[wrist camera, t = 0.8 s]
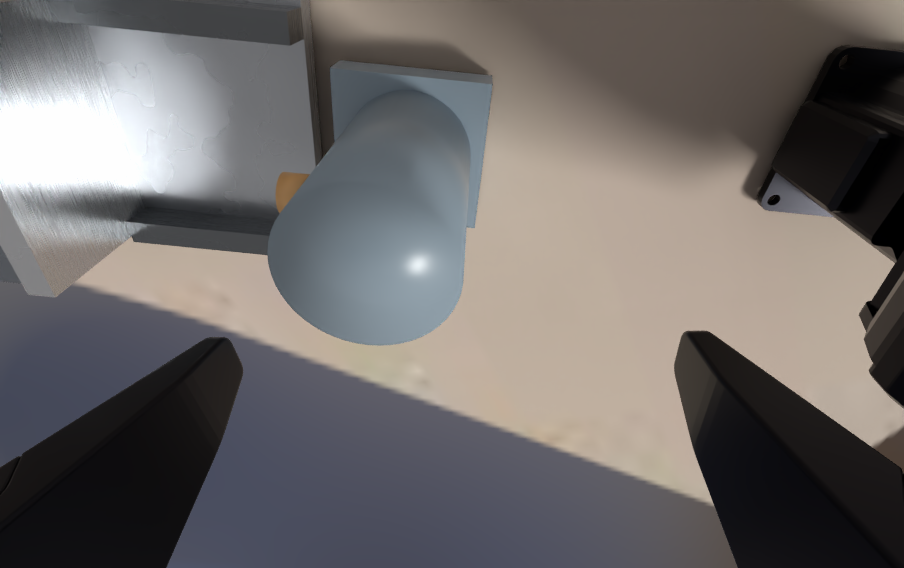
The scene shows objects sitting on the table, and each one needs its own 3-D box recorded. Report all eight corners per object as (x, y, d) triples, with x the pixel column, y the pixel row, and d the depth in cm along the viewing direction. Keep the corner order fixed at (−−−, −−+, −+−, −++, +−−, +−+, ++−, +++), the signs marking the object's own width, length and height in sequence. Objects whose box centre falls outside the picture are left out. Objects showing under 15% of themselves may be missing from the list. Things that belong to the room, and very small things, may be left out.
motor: (307, -18, 17) (217, -3, 11) (329, 244, 23) (279, 339, 18) (-115, -61, 17) (-422, -67, 11) (24, 214, 23) (-126, 299, 17)
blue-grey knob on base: (491, 75, 18) (499, 173, 10) (474, 212, 22) (470, 367, 14) (327, 59, 18) (202, 144, 10) (336, 198, 22) (249, 345, 14)
